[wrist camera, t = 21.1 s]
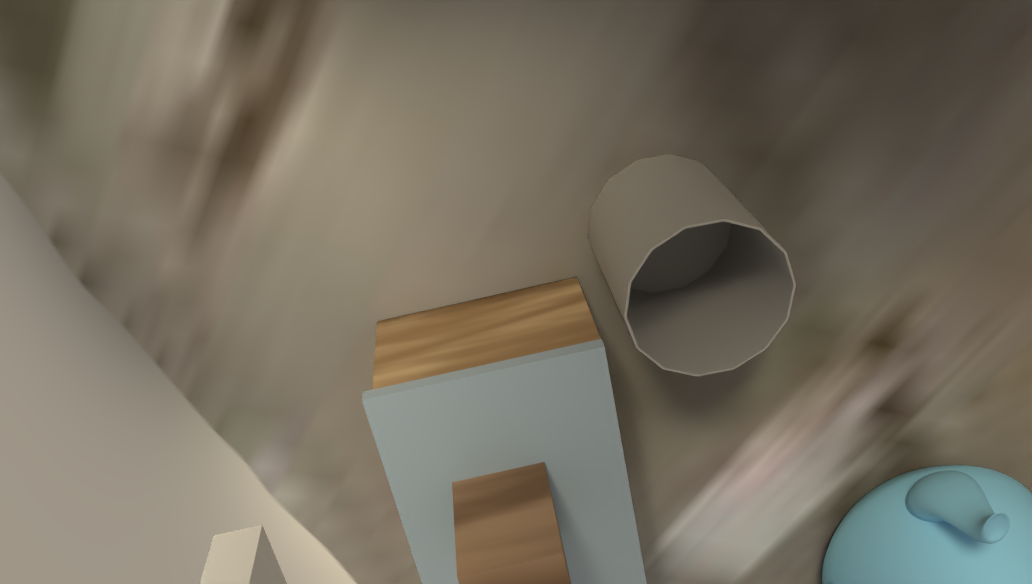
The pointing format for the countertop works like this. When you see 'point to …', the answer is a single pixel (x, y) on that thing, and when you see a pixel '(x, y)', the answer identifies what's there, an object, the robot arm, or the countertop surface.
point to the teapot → (936, 531)
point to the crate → (482, 332)
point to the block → (508, 529)
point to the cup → (689, 266)
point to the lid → (512, 455)
